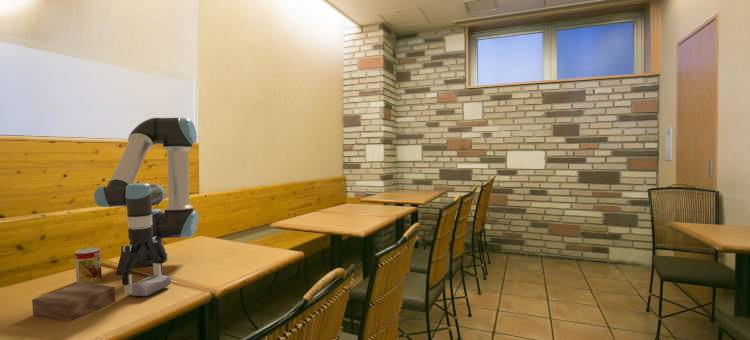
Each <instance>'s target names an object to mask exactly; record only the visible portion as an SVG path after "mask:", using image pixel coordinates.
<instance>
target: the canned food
mask: <svg viewBox="0 0 750 340" xmlns="http://www.w3.org/2000/svg"><path fill="white" fill-rule="evenodd" d="M101 254H102V253H101V248H100V247H87V248H82V249H78V250H76V251H75V252H74V257H75V258H74V259H75V275H76V276H75V277H76V284H79V283H89V284H95V283H97V282H100V281H102V279H103V277H102V276H103V274H102V273H103V272H102V258H101V257H102V255H101Z"/></svg>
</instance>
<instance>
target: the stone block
mask: <svg viewBox="0 0 750 340" xmlns="http://www.w3.org/2000/svg"><path fill="white" fill-rule="evenodd" d="M171 283H172V278H171V276H169V275H163V274H161V275H155V276H154V275H151V276H147V277H145V278H143V279H141V280H139V281H137V282H133V283H132V289H133V293H132V294H129V295H131V296H139V297H148V296H151V295H152V294H154V293H157V292H158V291H160V290H163V289H164V288H167V287H168V286H170V285H171Z"/></svg>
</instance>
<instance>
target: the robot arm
mask: <svg viewBox="0 0 750 340" xmlns="http://www.w3.org/2000/svg"><path fill="white" fill-rule="evenodd" d="M197 138H198V137H197V130H196V127H195V125H194V123H193V121H192V119H190V118H187V117H152V118H148V119H145V120H144V121H142V122H141V123H139V124H138V125H137V126H136V127H134V129H132V130H131V132H130V133H129V135H128V137H127V142H128V143H127V146H126V147H125V150H124V152H123V153H122V156H121V157H120V159H119V161H118V164H117V165H116V167H115V169H114V171H113V173H112V174H111V177H110V179H109V180H108V182H107V184H106V186H99V187H98V188H96V189H95V191H94V193H93V200H94V203H95V205H96V206H98V207H101V208H115V207H117V208H119V207H126V217H127V227H128V229H127V233H128V235H127V237H128V240H129V244H127V245H122V246H120V257H119V259H118V264H117V267H116V272H115V275H116V276H121V281H122V285H123V286H124V287H123V289H124V294H129V295H130V294H132V293H133V289H132V284H133V278H132V276H133V275H132V274H130V273H131V272H132V269H133V268H141V267H142V268H143V267H149V266H153V276H155V275H162V271H163V265H162V264H163V263H165V262H167V261H168V253H167V252H166V249H165V246H164V244H163V239H175V238H176V239H179V238H180V239H183V238H191V237H192V236H194V235H195V233H196V232H197V228H198V225H199V213H198V211H196V210H194V206H193V205H192V204H191V203H190V198H191V197H190V169H189V167H190V164H189V163H190V160H189V155H190V154H189V153H190V152H189V151H191V150H192V148H193V145H194V144H196V142H197ZM157 144H159V145H162V148H163V149H164V150H165V151H166V156H167V157H166V158H167V159H166V161H167V194H168V196H167V197H168V198H167V199H168V200H167V201H168V205H167V206H166V207H165V208H164V211H163V212H162V209H160V208H155V209H152V208H153V206H156V205H159V204H160V203H162V202H163V201H164V200H165V198H166V191H165V188H164V187H162V186H161V185H159V184H149V183H147V182H135V183H134V181H135V179H136V177H137V175H138V173H139V171H140V169H141V166H142V164H143V162H144V160H145V157H146V155H147V153H148V151H149V150H151V149H152V148H153V146H154V145H157Z"/></svg>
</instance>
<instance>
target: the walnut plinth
mask: <svg viewBox="0 0 750 340" xmlns="http://www.w3.org/2000/svg"><path fill="white" fill-rule="evenodd" d="M31 302H32V303H31V304H32V315H33V316H35V317H41V318H46V319H47V318H48V319H53V320H59V321H65V322H69V321H73V320H75V319H77V318H79V317H82V316H84V315H86V314H87V315H88V314H89V313H91V312H93V311H96V310H99V309H100V308H103V307H106V306H108V305H111V304H112V303H115V302H116V287H115V286H113V285H104V284H103V285H102V284H97V283H90V284H89V283H79V284H77V283H76V284H73V285H70V286H67V287H64V288H62V289H59V290H55V291H53V292H49V293H47V294H44V295H41V296H39V297H36V298H33V299H32V300H31Z"/></svg>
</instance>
